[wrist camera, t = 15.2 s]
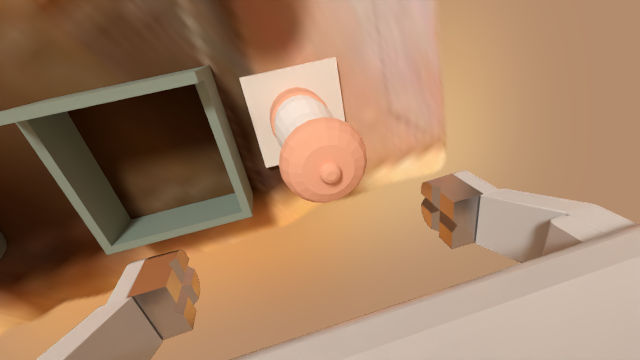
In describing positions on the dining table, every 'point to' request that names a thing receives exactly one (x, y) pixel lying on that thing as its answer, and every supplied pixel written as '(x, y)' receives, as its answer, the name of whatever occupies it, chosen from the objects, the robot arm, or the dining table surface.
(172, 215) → the grey open box
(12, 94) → the dining table surface
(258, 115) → the ceramic tile
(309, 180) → the pepper shaker
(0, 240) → the bottle
